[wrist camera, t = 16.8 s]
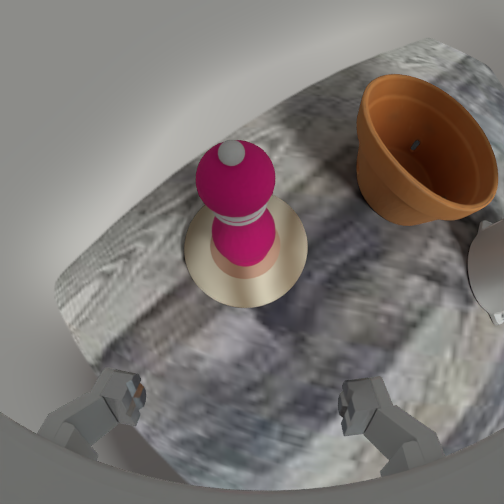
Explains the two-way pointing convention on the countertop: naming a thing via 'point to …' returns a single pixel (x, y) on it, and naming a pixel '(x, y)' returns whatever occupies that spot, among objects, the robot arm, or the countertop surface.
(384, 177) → the flower pot
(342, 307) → the countertop surface
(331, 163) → the countertop surface
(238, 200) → the pepper mill
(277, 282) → the disc
